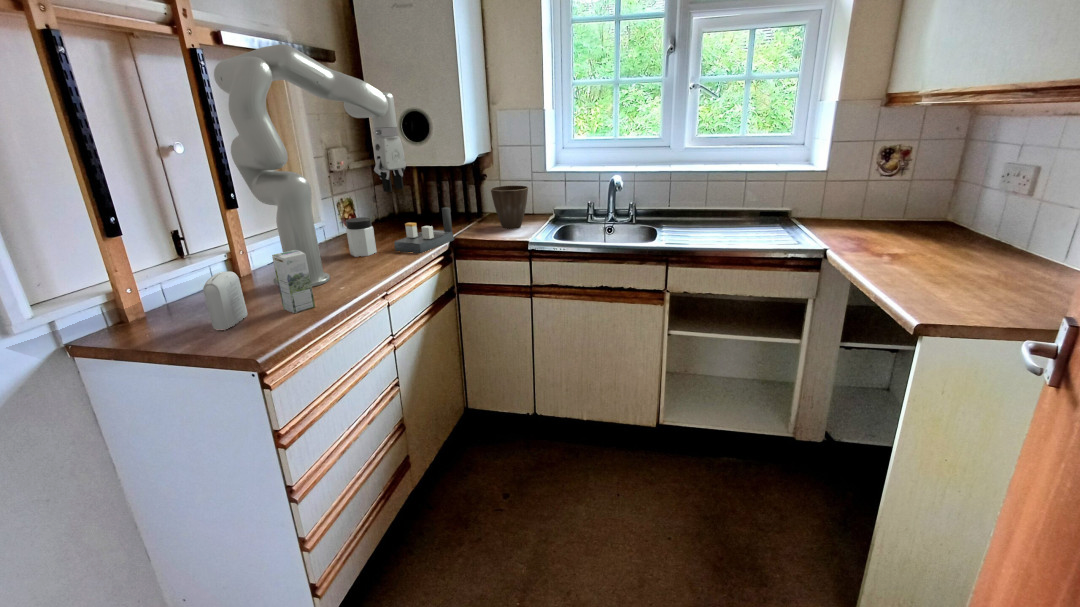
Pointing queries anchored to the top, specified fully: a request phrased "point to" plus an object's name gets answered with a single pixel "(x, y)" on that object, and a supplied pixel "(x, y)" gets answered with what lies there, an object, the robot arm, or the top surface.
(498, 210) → the plant pot
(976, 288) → the top surface
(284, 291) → the syrup box
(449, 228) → the post
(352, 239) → the jar
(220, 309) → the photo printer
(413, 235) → the paddle on
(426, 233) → the paddle
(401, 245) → the breaker panel
